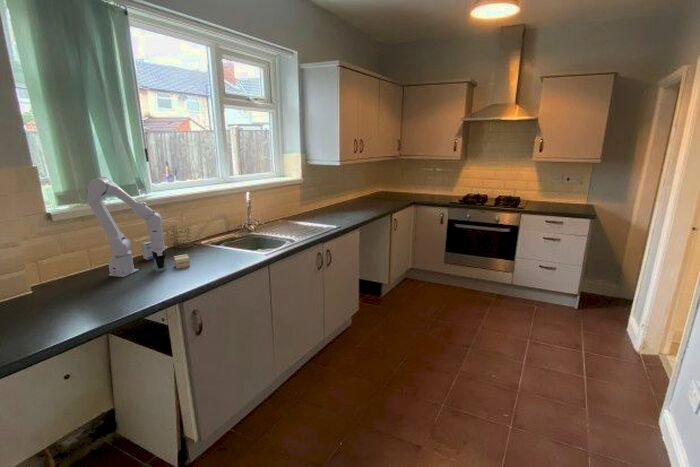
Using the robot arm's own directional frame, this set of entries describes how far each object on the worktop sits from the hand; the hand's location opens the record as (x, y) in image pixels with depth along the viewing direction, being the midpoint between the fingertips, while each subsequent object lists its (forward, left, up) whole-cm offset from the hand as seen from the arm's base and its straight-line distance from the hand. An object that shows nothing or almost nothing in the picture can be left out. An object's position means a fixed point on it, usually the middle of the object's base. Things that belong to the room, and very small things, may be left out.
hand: (160, 266), depth 176 cm
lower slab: (+7, -7, -2) cm, 10 cm away
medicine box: (+14, +16, -2) cm, 22 cm away
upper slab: (+6, -7, +1) cm, 9 cm away
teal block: (0, 0, -2) cm, 2 cm away
